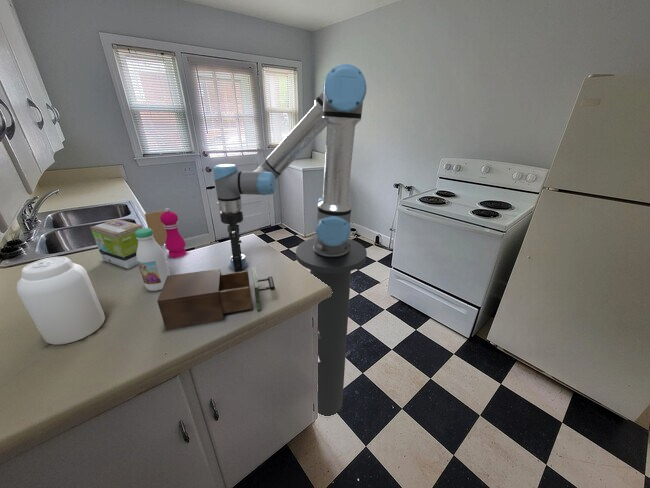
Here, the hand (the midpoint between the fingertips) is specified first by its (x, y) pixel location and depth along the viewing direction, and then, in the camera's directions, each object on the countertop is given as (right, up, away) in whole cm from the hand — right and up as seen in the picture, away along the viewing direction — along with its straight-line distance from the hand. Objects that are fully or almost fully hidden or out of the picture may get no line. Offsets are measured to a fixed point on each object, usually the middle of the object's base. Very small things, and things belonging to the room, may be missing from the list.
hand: (238, 265), depth 103 cm
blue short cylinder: (0, 0, 0) cm, 0 cm away
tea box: (-45, +2, +3) cm, 45 cm away
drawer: (+9, -9, -21) cm, 24 cm away
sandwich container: (-43, +11, +23) cm, 50 cm away
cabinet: (-4, -11, -24) cm, 27 cm away
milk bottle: (-23, -6, -12) cm, 27 cm away
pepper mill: (-28, +4, +8) cm, 29 cm away
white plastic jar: (-33, -14, -31) cm, 48 cm away
